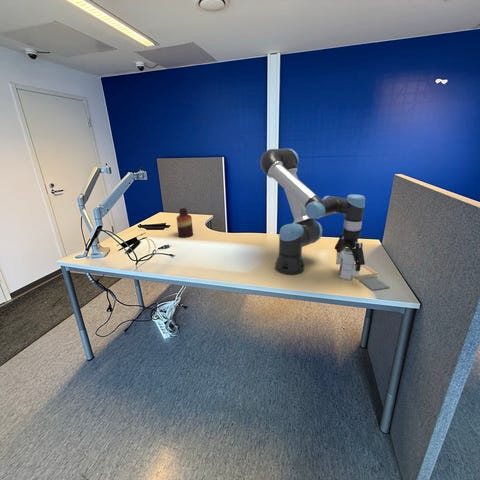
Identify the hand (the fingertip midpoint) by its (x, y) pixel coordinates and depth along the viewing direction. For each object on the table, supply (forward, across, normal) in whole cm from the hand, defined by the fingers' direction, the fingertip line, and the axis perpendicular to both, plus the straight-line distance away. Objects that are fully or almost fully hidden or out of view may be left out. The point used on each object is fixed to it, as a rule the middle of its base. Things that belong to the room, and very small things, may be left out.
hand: (346, 269), depth 125 cm
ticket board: (+4, 0, -9) cm, 10 cm away
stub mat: (+4, -10, -8) cm, 13 cm away
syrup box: (+4, 0, 0) cm, 4 cm away
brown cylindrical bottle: (+4, +87, +76) cm, 116 cm away
